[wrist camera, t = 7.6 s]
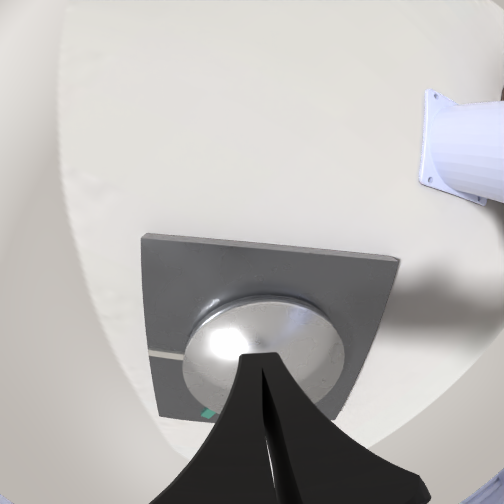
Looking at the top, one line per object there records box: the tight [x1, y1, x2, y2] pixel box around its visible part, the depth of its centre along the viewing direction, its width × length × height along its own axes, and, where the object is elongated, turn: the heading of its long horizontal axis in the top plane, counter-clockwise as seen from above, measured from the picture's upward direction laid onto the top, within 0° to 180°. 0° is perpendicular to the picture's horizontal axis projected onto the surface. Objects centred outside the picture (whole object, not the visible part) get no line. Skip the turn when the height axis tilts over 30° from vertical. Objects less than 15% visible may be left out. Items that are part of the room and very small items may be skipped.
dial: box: [182, 294, 345, 414], centre depth 17 cm, size 12×12×5 cm
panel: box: [141, 233, 399, 423], centre depth 20 cm, size 18×18×2 cm
